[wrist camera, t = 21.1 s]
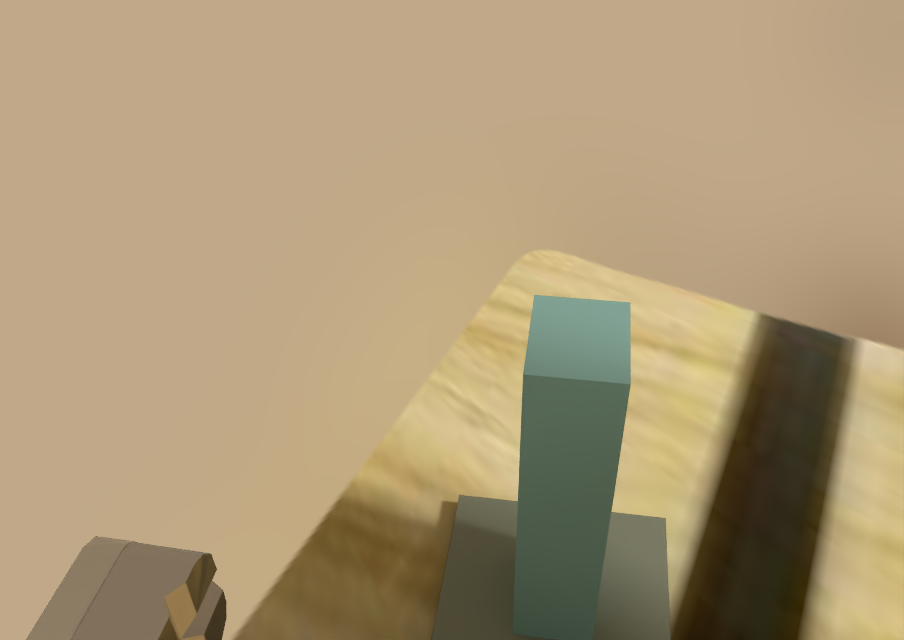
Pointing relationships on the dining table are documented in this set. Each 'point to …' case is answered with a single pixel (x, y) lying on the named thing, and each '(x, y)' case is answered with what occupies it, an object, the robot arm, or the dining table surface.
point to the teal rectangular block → (568, 461)
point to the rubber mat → (493, 577)
